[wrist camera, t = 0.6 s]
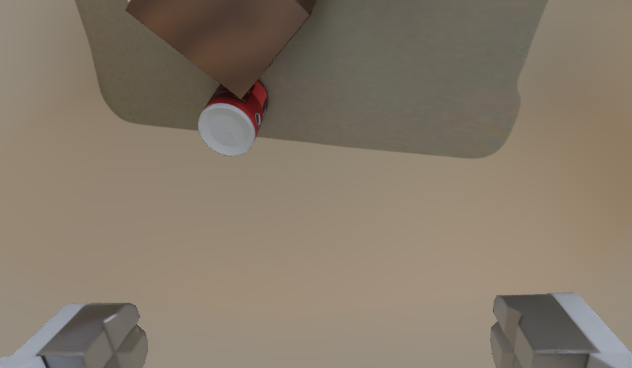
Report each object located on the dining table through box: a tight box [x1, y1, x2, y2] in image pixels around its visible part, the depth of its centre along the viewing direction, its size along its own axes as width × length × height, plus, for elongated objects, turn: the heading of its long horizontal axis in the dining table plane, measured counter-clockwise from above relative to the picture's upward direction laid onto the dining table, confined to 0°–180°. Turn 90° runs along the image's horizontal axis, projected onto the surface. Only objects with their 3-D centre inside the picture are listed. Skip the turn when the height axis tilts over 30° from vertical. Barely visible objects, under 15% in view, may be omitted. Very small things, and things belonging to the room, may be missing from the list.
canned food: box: [198, 80, 268, 156], centre depth 54 cm, size 8×8×11 cm
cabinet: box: [126, 0, 315, 99], centre depth 45 cm, size 16×14×11 cm
